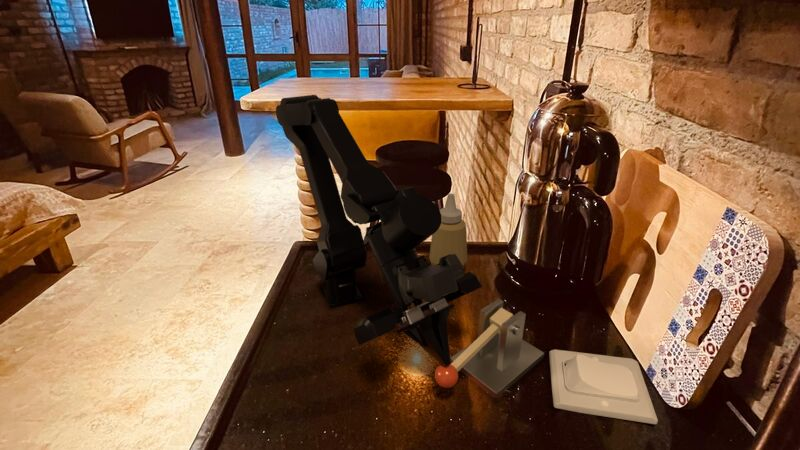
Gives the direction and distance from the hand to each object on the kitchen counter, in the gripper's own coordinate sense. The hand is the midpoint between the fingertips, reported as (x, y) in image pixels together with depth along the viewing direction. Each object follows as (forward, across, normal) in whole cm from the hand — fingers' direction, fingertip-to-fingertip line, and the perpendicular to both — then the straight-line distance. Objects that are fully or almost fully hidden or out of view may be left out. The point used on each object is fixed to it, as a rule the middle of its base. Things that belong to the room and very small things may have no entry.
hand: (446, 365), depth 55 cm
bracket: (+4, +12, +6) cm, 14 cm away
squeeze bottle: (-13, +22, +23) cm, 34 cm away
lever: (+1, +6, +2) cm, 6 cm away
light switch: (+13, +20, -3) cm, 24 cm away
